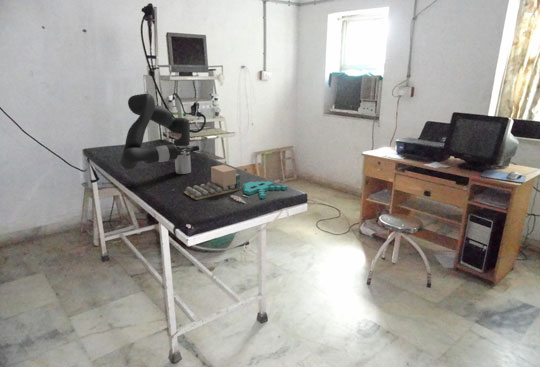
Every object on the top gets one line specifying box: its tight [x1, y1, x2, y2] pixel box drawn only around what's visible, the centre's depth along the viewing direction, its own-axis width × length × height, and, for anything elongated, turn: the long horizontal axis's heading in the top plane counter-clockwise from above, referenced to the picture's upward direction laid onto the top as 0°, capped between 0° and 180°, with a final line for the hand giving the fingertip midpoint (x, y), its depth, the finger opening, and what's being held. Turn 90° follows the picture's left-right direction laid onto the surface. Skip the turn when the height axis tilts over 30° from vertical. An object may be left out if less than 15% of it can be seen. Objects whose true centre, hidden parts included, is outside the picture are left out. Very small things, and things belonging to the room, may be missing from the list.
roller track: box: [183, 173, 243, 201], centre depth 193 cm, size 13×27×8 cm, turn 129°
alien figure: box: [242, 180, 288, 200], centre depth 198 cm, size 20×2×20 cm
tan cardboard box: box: [210, 164, 237, 187], centre depth 196 cm, size 12×8×8 cm, turn 39°
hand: (198, 147), depth 183 cm, fingers closed
